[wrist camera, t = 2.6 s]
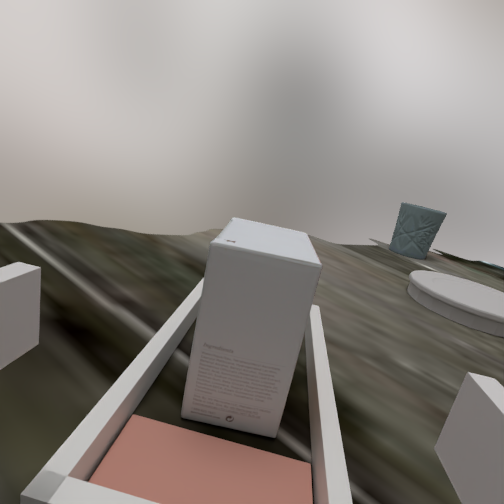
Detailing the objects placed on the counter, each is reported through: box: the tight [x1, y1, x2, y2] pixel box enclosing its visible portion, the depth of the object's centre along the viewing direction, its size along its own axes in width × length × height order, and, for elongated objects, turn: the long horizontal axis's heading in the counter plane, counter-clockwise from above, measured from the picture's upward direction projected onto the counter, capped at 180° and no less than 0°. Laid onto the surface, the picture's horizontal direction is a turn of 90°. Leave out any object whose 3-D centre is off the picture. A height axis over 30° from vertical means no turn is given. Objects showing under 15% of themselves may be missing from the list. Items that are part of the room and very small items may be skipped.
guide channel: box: [20, 278, 352, 504], centre depth 22 cm, size 12×23×2 cm, turn 173°
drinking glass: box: [389, 203, 446, 259], centre depth 80 cm, size 10×10×12 cm
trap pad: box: [88, 414, 313, 504], centre depth 15 cm, size 10×5×1 cm, turn 83°
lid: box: [407, 270, 504, 337], centre depth 49 cm, size 17×20×3 cm
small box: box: [181, 217, 323, 438], centre depth 20 cm, size 8×6×10 cm
